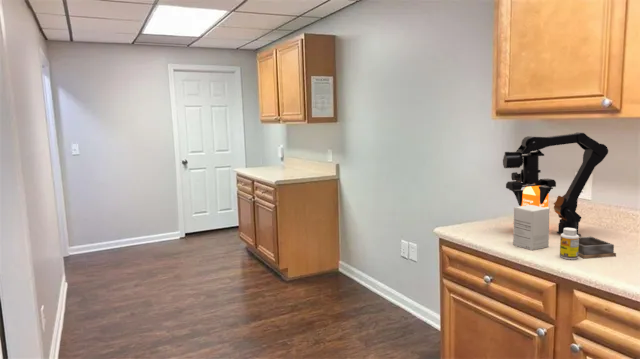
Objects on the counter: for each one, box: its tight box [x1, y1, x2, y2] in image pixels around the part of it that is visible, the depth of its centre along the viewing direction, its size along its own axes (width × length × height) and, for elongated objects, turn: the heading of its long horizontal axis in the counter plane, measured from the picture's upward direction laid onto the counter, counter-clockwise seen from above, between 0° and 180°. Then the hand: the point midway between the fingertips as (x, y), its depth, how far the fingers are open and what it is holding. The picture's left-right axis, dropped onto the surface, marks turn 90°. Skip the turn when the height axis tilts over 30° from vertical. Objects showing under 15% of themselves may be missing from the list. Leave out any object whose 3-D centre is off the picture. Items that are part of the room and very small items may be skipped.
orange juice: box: [521, 186, 550, 208], centre depth 198 cm, size 8×9×20 cm
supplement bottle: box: [559, 228, 580, 261], centre depth 153 cm, size 6×6×10 cm
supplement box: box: [512, 205, 550, 251], centre depth 168 cm, size 9×9×15 cm
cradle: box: [578, 236, 617, 260], centre depth 158 cm, size 12×12×4 cm
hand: (530, 204), depth 182 cm, fingers open, 9 cm apart
